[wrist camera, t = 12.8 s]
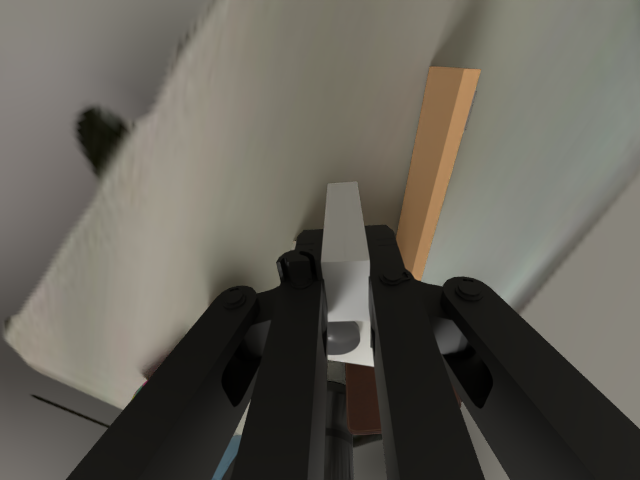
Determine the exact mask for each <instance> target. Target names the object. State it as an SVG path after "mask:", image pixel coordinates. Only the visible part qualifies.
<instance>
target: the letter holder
mask: <svg viewBox="0 0 640 480" xmlns="http://www.w3.org/2000/svg"><path fill="white" fill-rule="evenodd" d="M345 372H346V414H347V428H348V430H349V432H350V433H351V434H355V435H364V434H378V433H382V430H381V421H380V413H379V404H378V395H377V387H376V378H375V370H374V367H373V366H366V365H360V364H353V363H347V362H345ZM451 384H452V383H451ZM452 387H453V385H452ZM453 390H454V393H455V395H456V398H457V401H458V404H459V407H461V402H462V400H461V398H460V397H459V395H458V393H457V392H456V390H455V388H454V387H453Z"/></svg>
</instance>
